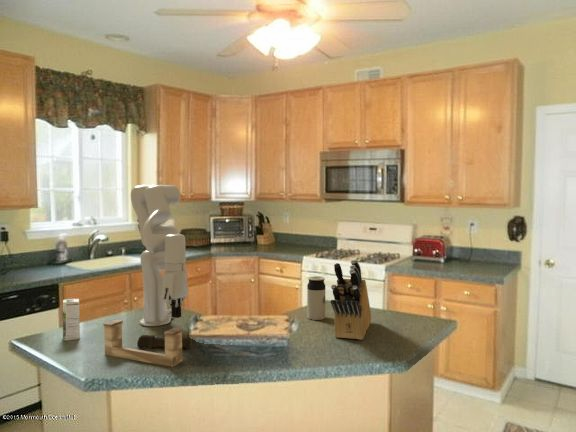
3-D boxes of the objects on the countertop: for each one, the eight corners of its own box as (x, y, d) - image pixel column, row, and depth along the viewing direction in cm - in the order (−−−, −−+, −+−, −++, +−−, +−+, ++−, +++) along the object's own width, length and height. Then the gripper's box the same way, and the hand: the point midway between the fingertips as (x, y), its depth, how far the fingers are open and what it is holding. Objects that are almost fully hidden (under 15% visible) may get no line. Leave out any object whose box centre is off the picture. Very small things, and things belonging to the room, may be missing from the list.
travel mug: (303, 318, 199) (303, 278, 198) (313, 314, 205) (313, 275, 204) (318, 321, 194) (319, 280, 193) (328, 317, 201) (328, 277, 200)
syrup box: (62, 337, 173) (61, 299, 172) (79, 334, 176) (78, 297, 175) (63, 341, 168) (62, 302, 167) (80, 339, 171) (79, 301, 170)
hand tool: (191, 347, 163) (191, 334, 163) (188, 350, 159) (188, 337, 159) (140, 345, 164) (140, 332, 164) (136, 349, 160) (136, 336, 160)
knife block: (328, 346, 163) (328, 261, 162) (345, 319, 197) (346, 249, 195) (359, 349, 160) (360, 262, 158) (371, 322, 193) (372, 250, 192)
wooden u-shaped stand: (115, 349, 159) (115, 319, 158) (183, 361, 148) (182, 328, 148) (104, 354, 154) (103, 323, 153) (173, 367, 143) (172, 333, 143)
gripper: (179, 264, 175) (180, 311, 175) (153, 270, 161) (155, 321, 161) (195, 265, 172) (196, 313, 172) (171, 270, 158) (172, 323, 158)
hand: (176, 317), depth 167 cm, fingers closed
